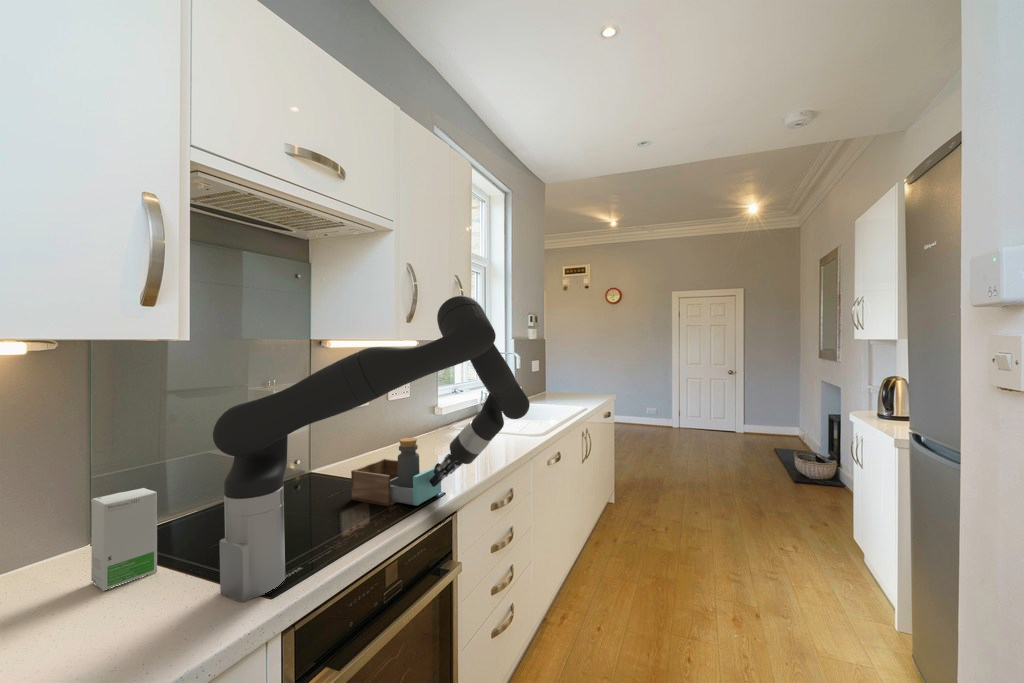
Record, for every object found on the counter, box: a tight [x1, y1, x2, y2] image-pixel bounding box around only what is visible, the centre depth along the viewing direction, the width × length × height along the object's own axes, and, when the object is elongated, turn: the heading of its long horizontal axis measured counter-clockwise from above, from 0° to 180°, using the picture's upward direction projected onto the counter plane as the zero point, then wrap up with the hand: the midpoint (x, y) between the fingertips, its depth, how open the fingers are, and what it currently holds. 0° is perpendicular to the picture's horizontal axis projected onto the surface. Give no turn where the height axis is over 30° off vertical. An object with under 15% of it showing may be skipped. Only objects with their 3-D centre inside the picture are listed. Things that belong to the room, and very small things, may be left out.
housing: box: [350, 458, 398, 507], centre depth 125 cm, size 13×13×8 cm
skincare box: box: [90, 487, 158, 591], centre depth 83 cm, size 8×7×16 cm
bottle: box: [397, 437, 421, 489], centre depth 121 cm, size 6×6×15 cm
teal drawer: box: [390, 466, 442, 506], centre depth 121 cm, size 11×12×7 cm
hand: (432, 483), depth 118 cm, fingers closed
